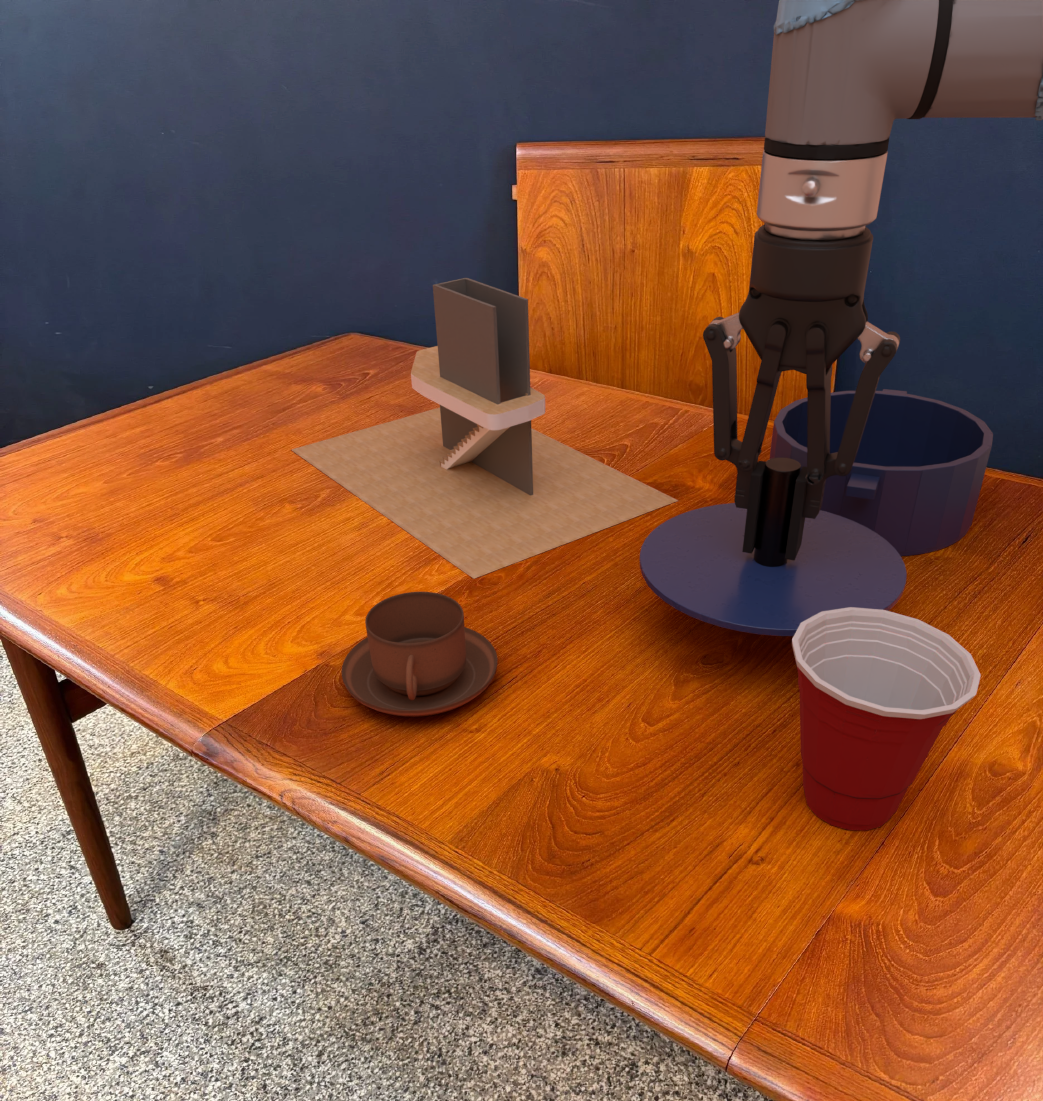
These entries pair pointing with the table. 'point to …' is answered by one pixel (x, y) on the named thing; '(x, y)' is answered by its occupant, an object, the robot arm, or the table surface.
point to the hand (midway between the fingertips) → (771, 547)
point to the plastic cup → (872, 708)
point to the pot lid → (769, 563)
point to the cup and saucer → (418, 657)
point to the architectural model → (480, 448)
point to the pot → (899, 466)
